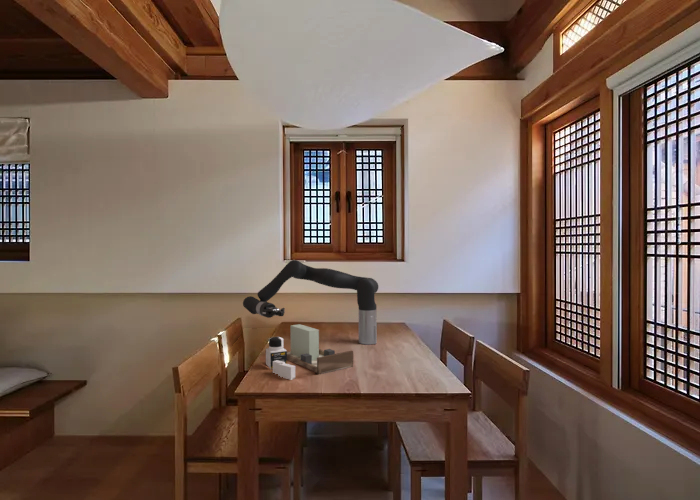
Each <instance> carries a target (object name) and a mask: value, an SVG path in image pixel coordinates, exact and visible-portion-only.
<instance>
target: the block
mask: <svg viewBox="0 0 700 500" xmlns="http://www.w3.org/2000/svg"><path fill="white" fill-rule="evenodd" d="M319 347H320V329H317V328H314V327H310V326H308V325H303V324H300V323H299V324H293V325H291V324H290V352H291V354H293V355H296V356H298V357H300V358H301V354H306V353H307V354H310V355H312V361H313V360H317V358H318V357H319V349H320V348H319Z"/></svg>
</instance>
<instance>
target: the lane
mask: <svg viewBox="0 0 700 500" xmlns="http://www.w3.org/2000/svg"><path fill="white" fill-rule="evenodd" d="M287 361H290V362H292V363H294V364H296V365H298V366H301V367H303V368H305V369H308V370H310V371H312V372H314V373H315V374H317V375H318V374H320V375H323V374H328V373H331V372H336V370H337V371H340V370H344V369H345V370H346V369H348V368H349V369H350V368H352V367H353V368H354V350H348V351H344V352H337V353H335V354H332V355H328V356H324V349H321V348H319V357H318V358H317V360H313V361H312V364H309V363H307V362H305V361H302V360H301V358H300V357H298V356H296V355H293V354H291V351H287Z"/></svg>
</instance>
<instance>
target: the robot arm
mask: <svg viewBox="0 0 700 500" xmlns="http://www.w3.org/2000/svg"><path fill="white" fill-rule="evenodd" d="M292 278H293V279H296V280H297V279H298V280H306V281H311V282H314V283H317V284H319V285H322V286H327V287H330V288H336V289H346V290H354V291H356V297H357V299H356V302H357V306H358V343H359V344H361V345H376V344H377V340H378V338H377V337H378V336H377V335H378V334H377V333H378V331H377V330H378V324H377V304H376V301H375V300H376V299H375V294H376V293H377V292H378V290H379V283H378V282H377V280H375V278H372V277H366V276H357V275H352V274H349V273H347V272H344V271H339V270H335V269H331V268H324V267H321V268H320V267H319V268H318V267H317V268H316V267H312V266H309V265H307V264H304V263H303V262H301V261H300V260H298V259H292V260H290V261H288V263H287V264H286V265H285V266H284V267H283V268H282V269H281V271H280V272H279V273H278V274H277V275H276V276H275V277H274V278H273V279H272V280H270V281H269V283H267V284H266V285H265V286H264V287H263V288H261V289H260V290H259V291H258V292H257V297H258V298H257V297H254V296H252V295H251V296H247V297H245V298H244V299H243V300H242V301H243V302H242V306H243V307H244V309H246V310H247V311H248V312H249V313H250V314H252V315H259V316H261V317H265V318H269V319H271V318H273V317H275V316H277V317H284V315H285V312H286V311H285V307H282V308H279V307H277V306H276V305H275V304H274V303H272V302H269V300H271V299H272V298H273V297H274V296H275V295H276V294H277V293H278V292H279V291H280V289H281V287H282V286H283V285H284V284H285V283H286V282H287V281H288V280H290V279H292Z"/></svg>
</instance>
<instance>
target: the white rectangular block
mask: <svg viewBox="0 0 700 500" xmlns="http://www.w3.org/2000/svg"><path fill="white" fill-rule="evenodd" d="M273 373H275V374H274V375H276V374H278V375H277V376H278V377H279V376H280V377H279V378H282V377H283V379H287V380H290V381H292V380H295V379H296V365H295V364H294V365H292V364H289V363H287V364H286V363H285V362H283V361H279V360H276V361H273V368H272V374H273Z"/></svg>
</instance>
